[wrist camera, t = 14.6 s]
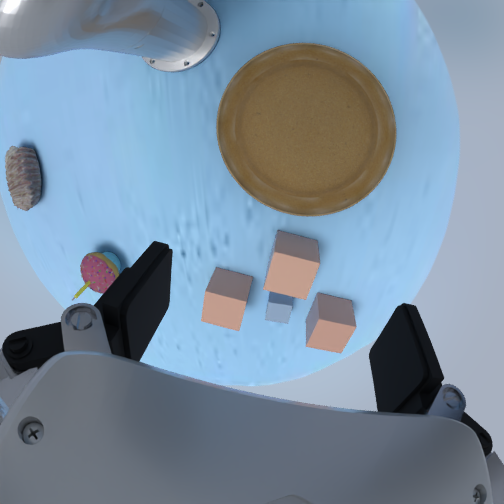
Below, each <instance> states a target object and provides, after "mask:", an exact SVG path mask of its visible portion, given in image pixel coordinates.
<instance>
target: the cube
mask: <svg viewBox="0 0 504 504" xmlns="http://www.w3.org/2000/svg"><path fill="white" fill-rule="evenodd" d="M292 305H293V297H292V296H288V295H284V294H280V293H275V292H271V291H270V294H269V299H268V305H267V311H266V317H265V320H268V321H274V322H280V323H287V324H288V322H289V318H290V314H291V310H292Z"/></svg>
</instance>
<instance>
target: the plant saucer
mask: <svg viewBox="0 0 504 504" xmlns="http://www.w3.org/2000/svg"><path fill="white" fill-rule="evenodd" d="M217 140H218V145H219V149H220V152H221V155H222V158H223V161H224V163H225V165H226V167H227V169H228V170H229V172H230V173H231V175H232V176H233V178H234V179H235V181H236V182H237V183H238V184H239V185H240V186H241V187H242V188H243V189H244V190H245V191H246V192H247V193H248V194H249V195H250V196H252V197H253V198H254V199H256V200H257V201H259V202H260V203H262V204H264V205H266V206H268V207H270V208H272V209H274V210H277V211H280V212H283V213H287V214H291V215H297V216H322V215H328V214H333V213H336V212H339V211H342V210H345V209H347V208H349V207H351V206H353V205H354V204H356V203H358V202H359V201H361V200H362V199H364V198H365V197H366V196H367V195H368V194H370V193H371V192H372V191H373V190H374V189H375V187H376V186H377V185H378V184H379V183H380V181H381V180H382V178H383V177H384V175H385V174H386V172H387V170H388V168H389V166H390V163H391V161H392V158H393V154H394V150H395V144H396V122H395V116H394V112H393V108H392V105H391V102H390V100H389V97H388V95H387V93H386V91H385V90H384V88H383V86H382V85H381V83H380V82H379V81H378V79H377V78H376V77H375V76H374V75H373V73H372V72H371V71H370V70H369V69H368V68H367V67H365V66H364V65H363V64H362V63H361V62H359V61H358V60H356V59H355V58H353V57H352V56H350V55H348V54H346V53H344V52H342V51H340V50H338V49H335V48H332V47H329V46H325V45H320V44H314V43H293V44H286V45H282V46H278V47H275V48H272V49H269V50H267V51H264V52H262V53H261V54H259V55H257V56H255V57H254V58H252V59H251V60H250V61H248V62H247V63H246V64H245V65H244V66H243V67H242V68H240V69H239V71H238V72H237V73H236V74H235V75H234V76H233V78H232V79H231V81H230V82H229V84H228V86H227V87H226V89H225V91H224V93H223V96H222V98H221V101H220V104H219V108H218V114H217Z"/></svg>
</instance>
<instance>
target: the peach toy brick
mask: <svg viewBox="0 0 504 504" xmlns="http://www.w3.org/2000/svg"><path fill="white" fill-rule="evenodd" d="M252 279H253V277H252V276H248V275H244V274H240V273H237V272H233V271H229V270H225V269H221V268H217V267H216V269H215V271H214V273H213V275H212V277H211V280H210V282H209V284H208V286H207V288H206V291H205V297H204V304H203V311H202V319H201V321H203V322H206V323H210V324H214V325H217V326H221V327H225V328H229V329H233V330H237V331H239V330H240V326H241V322H242V318H243V314H244V310H245V306H246V303H247V299H248V295H249V291H250V287H251V283H252Z"/></svg>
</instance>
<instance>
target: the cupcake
mask: <svg viewBox="0 0 504 504" xmlns="http://www.w3.org/2000/svg"><path fill="white" fill-rule="evenodd" d="M80 267H81V274H82V277H83V280H84V282H85V285H84V286H83V287H82V288H81V289H80V290H79V291H78V292H77V293H76V294H75V295H74V298H73V299H72V300H74V299H75V298H77V297H78V296H79V295H80V294H81V293H82V292H83V291H84V290H85V289H86V288H87V287H90V289H92V290H93V291H95V292H99V293H105V291H106V290H107V289H108V288H109V287H110V285H111V284H112V283H113V282H114V281H115V280H116V278H117V277H118V276H119V275H120V274H119V271H120V268H121V264H120V261H119V259H118V257H117V256H116V255H115V254H113V253H111V252H104V253H98V252H94V253H88V254H87V255H86V256H85V257H84V258H83V260H82V263H81V265H80Z"/></svg>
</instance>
